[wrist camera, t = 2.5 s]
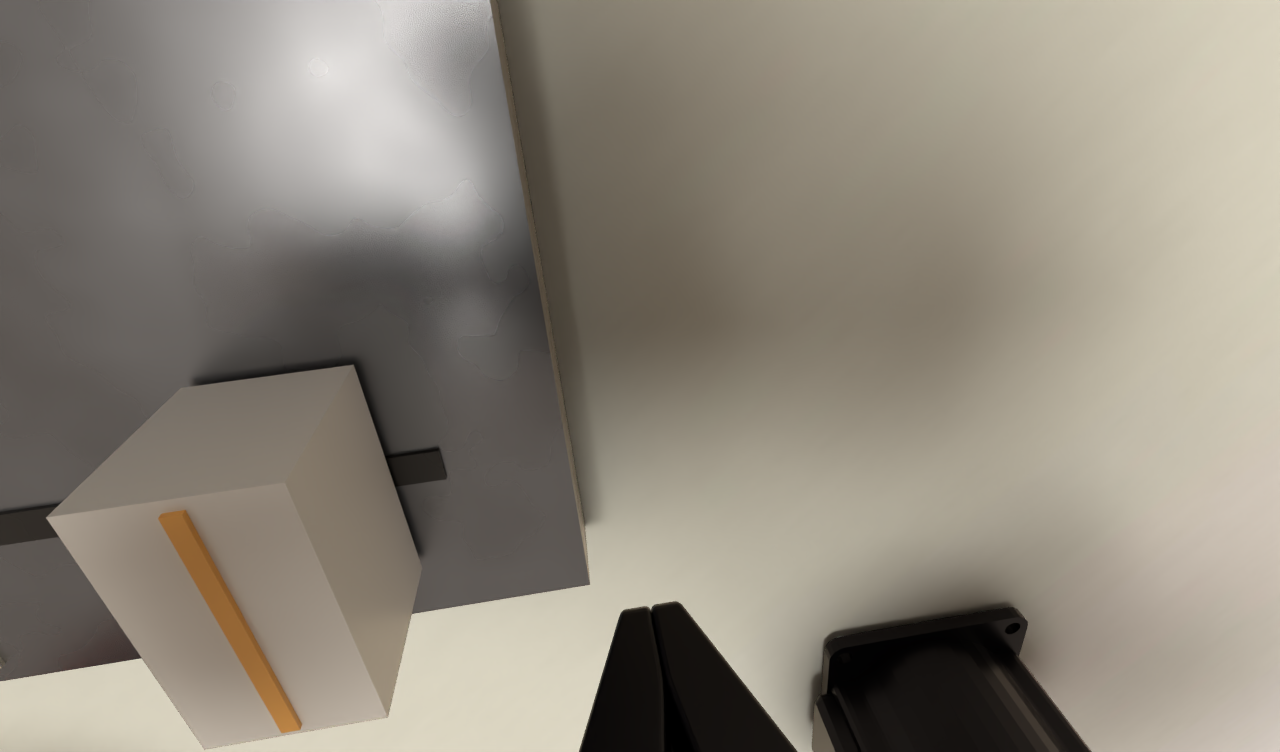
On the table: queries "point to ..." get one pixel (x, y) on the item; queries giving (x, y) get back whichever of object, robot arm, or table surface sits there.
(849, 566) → the table surface
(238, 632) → the fader
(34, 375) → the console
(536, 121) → the table surface
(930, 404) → the table surface
